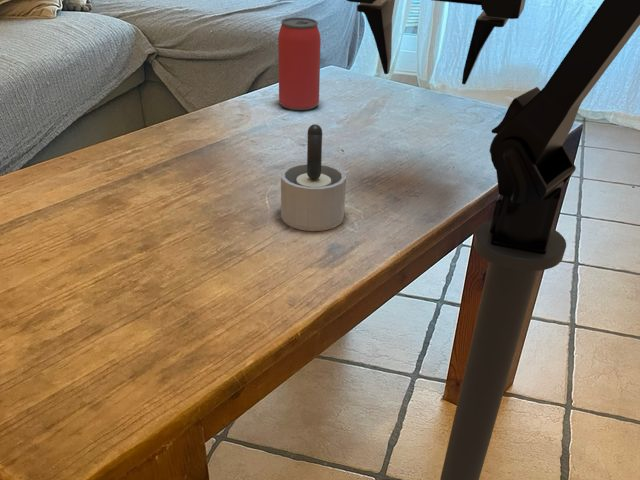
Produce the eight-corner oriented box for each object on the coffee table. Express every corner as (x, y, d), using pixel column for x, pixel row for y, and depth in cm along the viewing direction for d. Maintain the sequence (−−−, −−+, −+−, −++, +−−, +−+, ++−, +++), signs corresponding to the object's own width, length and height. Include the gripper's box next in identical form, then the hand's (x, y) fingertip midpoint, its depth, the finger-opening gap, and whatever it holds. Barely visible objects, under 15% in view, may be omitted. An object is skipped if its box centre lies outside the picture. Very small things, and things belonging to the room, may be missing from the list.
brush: (334, 208, 79) (338, 121, 72) (323, 222, 76) (326, 133, 70) (303, 203, 80) (304, 116, 73) (291, 216, 77) (291, 127, 71)
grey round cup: (351, 209, 80) (353, 168, 77) (331, 235, 75) (333, 193, 72) (294, 199, 82) (294, 158, 79) (271, 224, 77) (270, 182, 73)
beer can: (327, 105, 109) (329, 21, 101) (301, 114, 105) (301, 28, 97) (296, 96, 112) (297, 14, 104) (270, 105, 108) (268, 21, 100)
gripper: (548, -92, 70) (514, 70, 80) (378, -104, 74) (367, 52, 85) (537, -82, 62) (501, 96, 73) (348, -96, 66) (340, 75, 77)
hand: (425, 78), depth 77 cm, fingers open, 9 cm apart
